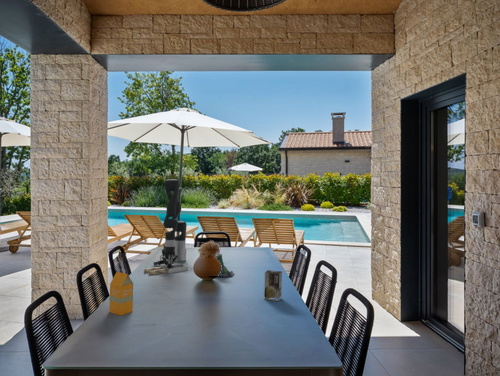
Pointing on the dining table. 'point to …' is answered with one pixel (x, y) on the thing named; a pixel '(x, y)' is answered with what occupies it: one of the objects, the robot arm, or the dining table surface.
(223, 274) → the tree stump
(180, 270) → the tray
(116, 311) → the orange juice
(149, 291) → the dining table surface
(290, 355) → the dining table surface
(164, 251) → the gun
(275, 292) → the coffee box
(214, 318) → the dining table surface
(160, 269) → the slotted rail
